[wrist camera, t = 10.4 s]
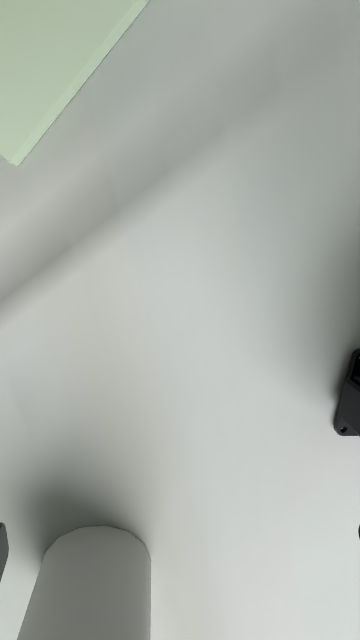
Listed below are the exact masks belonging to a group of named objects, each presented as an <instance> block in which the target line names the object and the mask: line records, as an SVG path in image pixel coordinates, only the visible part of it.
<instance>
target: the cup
mask: <svg viewBox="0 0 360 640" xmlns="http://www.w3.org/2000/svg"><path fill="white" fill-rule="evenodd" d="M150 612H151V559H150V556H149V554H148V551H147V548H146V546H145V544H144V543H143V542H142V541H140V540H139V539H138V538H136V537H135V536H134V535H133V534H131V533H130V532H128V531H125V530H121V529H117V528H113V527H110V526H92V527H80V528H78V529H76V530H74V531H71V532H69V533H67V534H65V535H62V536H60V537H58V538H57V540H56V541H55V542H54V543H53V544H52V545H51V546H50V548H49V549H48V550H47V551H46V552H45V555H44V558H43V561H42V564H41V567H40V571H39V574H38V577H37V580H36V583H35V586H34V589H33V592H32V595H31V598H30V601H29V604H28V607H27V610H26V614H25V617H24V620H23V623H22V626H21V629H20V632H19V635H18V638H17V640H150Z"/></svg>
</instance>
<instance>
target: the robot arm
mask: <svg viewBox="0 0 360 640" xmlns="http://www.w3.org/2000/svg"><path fill="white" fill-rule="evenodd" d="M359 358H360V349H357V350H355V351H354V352H353V354H352V357H351V361H350V365H349V369H348V373H347V377H346V381H345V384H344V388H343V392H342V396H341V400H340V404H339V407H338V412H337V416H336V420H335V424H334V430H335V431H336V432H337V433H338V434H339V435H341V436H360V359H359ZM342 427H343V428H342ZM341 428H342V429H341ZM358 532H359V538H360V526H359V529H358ZM8 552H9V546H8V539H7V533H6V527H5V524H4V523H2V522H0V581H1V578H2V574H3V571H4V568H5V564H6V561H7V557H8Z"/></svg>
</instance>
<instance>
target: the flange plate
mask: <svg viewBox="0 0 360 640" xmlns="http://www.w3.org/2000/svg"><path fill="white" fill-rule="evenodd" d="M149 1H150V0H0V155H2V156H3V157H4V158H5V159H6V160H7V161H8V162H9V163H11V164H14V165H17V166H19V165H20V163H21V162H22V161H23V160H24V158H25V157H26V156H27V154H28V153H29V152H30V151H31V149H32V148H33V147H34V146H35V144H36V143H37V142H38V141H39V139H40V138H41V137H42V136H43V134H44V133H45V132H46V131H47V129H48V128H49V127H50V125H51V124H52V123H53V122H54V120H55V119H56V118H57V117H58V115H59V114H60V113H61V112H62V110H63V109H64V108H65V107H66V105H67V104H68V103H69V102H70V100H71V99H72V98H73V97H74V95H75V94H76V93H77V91H78V90H79V89H80V88H81V86H82V85H83V84H84V83H85V81H86V80H87V79H88V78H89V76H90V75H91V74H92V73H93V71H94V70H95V69H96V68H97V66H98V65H99V64H100V63H101V61H102V60H103V59H104V57H105V56H106V55H107V54H108V52H109V51H110V50H111V49H112V47H113V46H114V45H115V44H116V42H117V41H118V40H119V39H120V37H121V36H122V35H123V34H124V32H125V31H126V30H127V29H128V27H129V26H130V25H131V23H132V22H133V21H134V20H135V18H136V17H137V16H138V15H139V13H140V12H141V11H142V10H143V8H144V7H145V6H146V5H147V3H148V2H149Z"/></svg>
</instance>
